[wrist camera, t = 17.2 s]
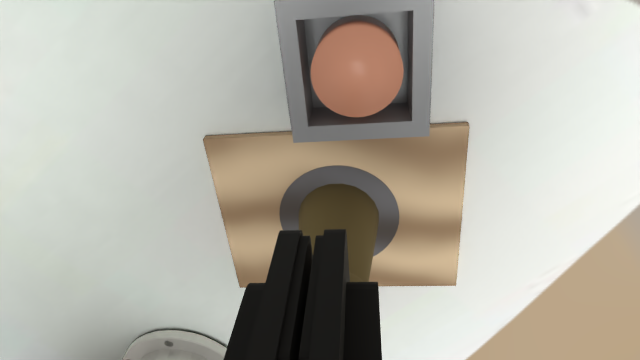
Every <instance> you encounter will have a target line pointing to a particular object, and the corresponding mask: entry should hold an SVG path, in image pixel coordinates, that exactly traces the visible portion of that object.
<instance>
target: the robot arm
mask: <svg viewBox="0 0 640 360" xmlns="http://www.w3.org/2000/svg"><path fill="white" fill-rule="evenodd" d="M122 360H382V353H381V333H380V312H379V292H378V282H350V275H349V260H348V246H347V232H346V229H325V230H324V234H323V235H316V238H315V245H314V252H313V253H312V245H311V238H310V236H303V233H302V230H280V231H279V234H278V237H277V241H276V245H275V248H274V252H273V256H272V260H271V264H270V267H269V271H268V275H267V279H266V282H265V283H249V284H248V285H247V287H246V290H245V293H244V296H243V299H242V302H241V305H240V309H239V312H238V315H237V318H236V321H235V325H234V328H233V331H232V334H231V337H230V340H229V344H228V347H227V348H226V347H224V346H223V345H221V344H219V343H218V342H216V341H214V340H212V339H209V338H207V337H205V336H202V335H199V334H195V333H192V332H186V331H180V330H164V331H155V332H152V333H148V334H145V335H143V336H141V337H139V338H137V339H136V340H135V341H134V342H133V343H131V345H130V346H129V348H128V350H127V351H126V353H125V355H124V357H123V359H122Z"/></svg>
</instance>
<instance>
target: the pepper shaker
mask: <svg viewBox="0 0 640 360" xmlns="http://www.w3.org/2000/svg"><path fill="white" fill-rule="evenodd" d="M378 224H379V211H378V209H377V207H376V204H375V202H374V201H373V200H372V198H371V197H370V196H369V195H368V194H367V193H366V192H364V191H362V190H360V189H359V188H357V187H355V186H351V185H347V184H343V183H342V184H327V185H324V186H321V187H318V188H316V189H315V190H313V191H312V192H310V193H309V194H308V195H307V196H306V197H305V199H304V200H303V202H302V203H301V206H300V210H299V230H302V233H303V236H310V238H311V245H312V253H313V252H314V245H315V238H316V235H323V234H324V230H325V229H346V232H347V246H348V260H349V275H350V282H369V277H370V271H371V265H372V260H373V254H374V248H375V242H376V236H377V230H378Z"/></svg>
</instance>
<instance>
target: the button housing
mask: <svg viewBox="0 0 640 360" xmlns="http://www.w3.org/2000/svg"><path fill="white" fill-rule="evenodd" d="M274 5H275V12H276V19H277V27H278V34H279V41H280V49H281V56H282V63H283V71H284V78H285V85H286V93H287V100H288V107H289V114H290V122H291V129H292V136H293V143H302V142H322V141H343V140H363V139H384V138H405V137H425V136H429V133H430V105H431V76H432V47H433V19H434V0H275V1H274ZM354 15H363V16H368V17H372V18H374V19H377V20H379V21H380V22H382V23H383V24H384V25H386V26H387V27H388V28H389V29H390V30H391V32H392V33H393V35H394V37H395V39H396V41H397V44H398V47H399V50H400V54H401V58H402V62H403V70H404V72H403V80H402V84H401V87H400V90H399V92H398V94H397V95H396V97H395V98H394V99H393V101H392V102H391V103H390V104H389V105H388V106H386V107H385V108H384V109H382V110H381V111H379V112H377V113H375V114H372V115H369V116H365V117H347V116H344V115H340V114H338V113H336V112H334V111H332V110H330V109H329V108H328V107H326V106H325V105H324V104H323V103H322V102H321V100H320V99H319V98H318V96H317V95H316V93H315V90H314V88H313V85H312V81H311V64H312V60H313V57H314V54H315V51H316V49H317V46H318V43H319V40H320V39H321V37H322V35H323V34H324V32H325V31H326V30H327V29H328V28H329V27H330V26H331V25H332V24H333V23H335V22H336V21H338V20H340V19H342V18H345V17H348V16H354Z"/></svg>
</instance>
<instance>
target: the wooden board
mask: <svg viewBox="0 0 640 360" xmlns="http://www.w3.org/2000/svg"><path fill="white" fill-rule="evenodd" d="M468 136H469V124H468V122H461V123H442V124H430V133H429V136H425V137H405V138H384V139H363V140H343V141H322V142H302V143H293V136H292V131H288V132H269V133H249V134H230V135H211V136H205V137H204V139H203V142H204V146H205V150H206V154H207V158H208V162H209V166H210V170H211V174H212V178H213V182H214V186H215V190H216V194H217V198H218V202H219V206H220V210H221V214H222V218H223V222H224V226H225V230H226V234H227V238H228V242H229V246H230V250H231V254H232V258H233V262H234V266H235V270H236V274H237V278H238V282H239V286H240V287H247V285H248V284H249V283H265V282H266V279H267V275H268V271H269V267H270V264H271V260H272V256H273V252H274V248H275V245H276V241H277V237H278V234H279V231H280V230H299V210H300V206H301V203H302V202H303V200H304V199H305V197H306V196H307V195H308V194H309V193H310V192H312V191H313V190H315V189H316V188H318V187H321V186H324V185H327V184H342V183H343V184H347V185H351V186H355V187H357V188H359V189H360V190H362V191H364V192H366V193H367V194H368V195H369V196H370V197H371V198H372V200H373V201H374V202H375V204H376V207H377V209H378V211H379V224H378V230H377V236H376V242H375V248H374V254H373V260H372V265H371V271H370V277H369V282H378V286H454V285H456V279H457V267H458V255H459V243H460V231H461V220H462V208H463V196H464V184H465V172H466V160H467V148H468Z"/></svg>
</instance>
